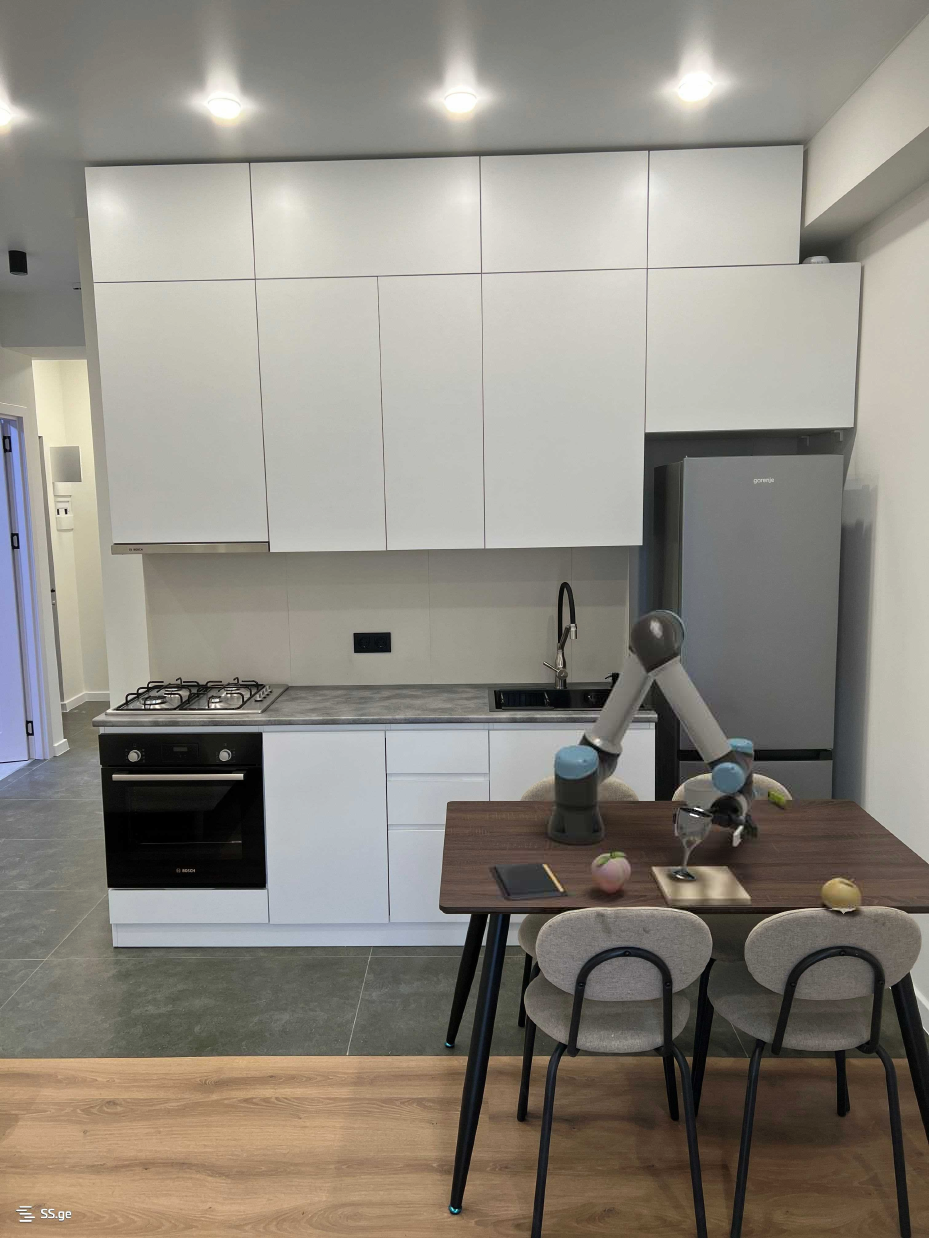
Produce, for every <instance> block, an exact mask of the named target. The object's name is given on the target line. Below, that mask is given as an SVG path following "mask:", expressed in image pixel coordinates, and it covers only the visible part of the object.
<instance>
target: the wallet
mask: <svg viewBox="0 0 929 1238" xmlns="http://www.w3.org/2000/svg"><path fill="white" fill-rule="evenodd" d="M488 868H489V871H490V874H491V876H492V877H493V879H494V881H495V883H496V885H497V886H498V888H499V891H500V892H501V895H502V897H503V899H504V900H505V901H508V902H517V901H528V900H539V899H540V900H541V899H550V898H563V897H564V898H565V897H569V896H570V895H569V893H568V892H567V890H566V889H565V888H564V886H563V885H562V883H561V882H560V880H559V879H558V878H557V876H556V875H555V873H554V872H553V870H552V869H551V867H550V866H549V865H548V864H547V862H526V863H525V862H524V863H514V864H501V865H492V866H490V867H488Z"/></svg>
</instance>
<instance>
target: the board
mask: <svg viewBox="0 0 929 1238" xmlns="http://www.w3.org/2000/svg"><path fill="white" fill-rule="evenodd" d="M668 868H679V869H680V868H682V866H651V874H652V876H653V877H654V878H653V879H655V881H656V883H657V886H658V887H659V890H660V892H661V893H662V895H663V897H664V899H665V902H667V905H668V906H669V907H670V906H748V905H749V906H750V905H752V904H751V903H752V901H751V900H752V898H751V897H750V895H749V893H748V892H746V890H745V888H744V887H743V885H741V883H740V882H739V881H738V879H737V878H736V876H734V874H733V873H732V872H731V870H730V869H729V868H728V866H727V865H726V866H725V865H722V866H717V865H715V866H713V865H711V866H706V865H705V866H686V870H687V871H689V872H691V873H693V874H695V875H696V876H697V877H698V879H696V880H688V879H683V878H680V877H677V876H675V875H672V874H671V873H669V872H668V871H667V869H668Z"/></svg>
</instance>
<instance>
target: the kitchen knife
mask: <svg viewBox="0 0 929 1238" xmlns="http://www.w3.org/2000/svg"><path fill="white" fill-rule="evenodd" d="M756 785H757V788H756V787H755V786H753V787H754V789H755V791H756V792H757V793H759V794H761V795H762V796H763V797H765V798H766V799H768V800H769V802H770V803H775V802H780V805H786V803H787V799H786V797H784V796H783V795H780V794H779V793H777V792H775V791H772V790H769V789H766V788H764V787H762V786H760V785H759V784H756Z"/></svg>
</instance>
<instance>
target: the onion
mask: <svg viewBox="0 0 929 1238" xmlns="http://www.w3.org/2000/svg"><path fill="white" fill-rule="evenodd" d="M853 881H854V878H852V879H850V880H848V879H845V878H841V877H836V878H833V879H830V880H828V881H827V882H826V883H825V884H824V885H823V886H822V889H821V893H820V895H821V899H822V901H823V904H825V905H826V907H828V908H830V909H831V908H857V909H859V908H860V906H861V903H862V895H861V892H860V890H859V888H858V887H857V886H856V885H855V884H854V883H853Z"/></svg>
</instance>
